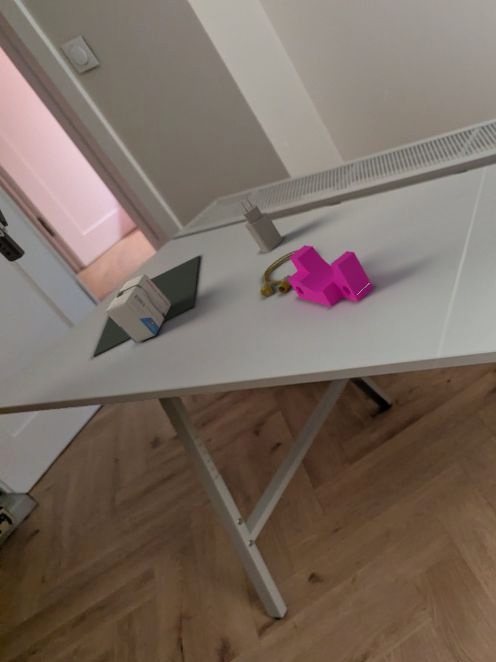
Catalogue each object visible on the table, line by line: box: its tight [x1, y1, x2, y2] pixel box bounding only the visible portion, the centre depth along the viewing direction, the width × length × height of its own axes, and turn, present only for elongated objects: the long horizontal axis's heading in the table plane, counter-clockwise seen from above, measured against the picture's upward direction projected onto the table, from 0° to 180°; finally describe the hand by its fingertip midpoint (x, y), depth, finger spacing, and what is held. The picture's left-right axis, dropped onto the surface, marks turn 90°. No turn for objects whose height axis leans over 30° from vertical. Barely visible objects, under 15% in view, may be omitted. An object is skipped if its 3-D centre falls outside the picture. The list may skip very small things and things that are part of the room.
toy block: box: [288, 244, 374, 307], centre depth 93 cm, size 15×6×8 cm, turn 51°
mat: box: [93, 255, 201, 358], centre depth 123 cm, size 30×22×1 cm
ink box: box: [105, 273, 171, 344], centre depth 109 cm, size 8×5×12 cm
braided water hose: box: [260, 249, 299, 298], centre depth 109 cm, size 12×16×2 cm
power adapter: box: [240, 197, 284, 253], centre depth 121 cm, size 3×5×12 cm, turn 158°
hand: (18, 257), depth 86 cm, fingers closed
